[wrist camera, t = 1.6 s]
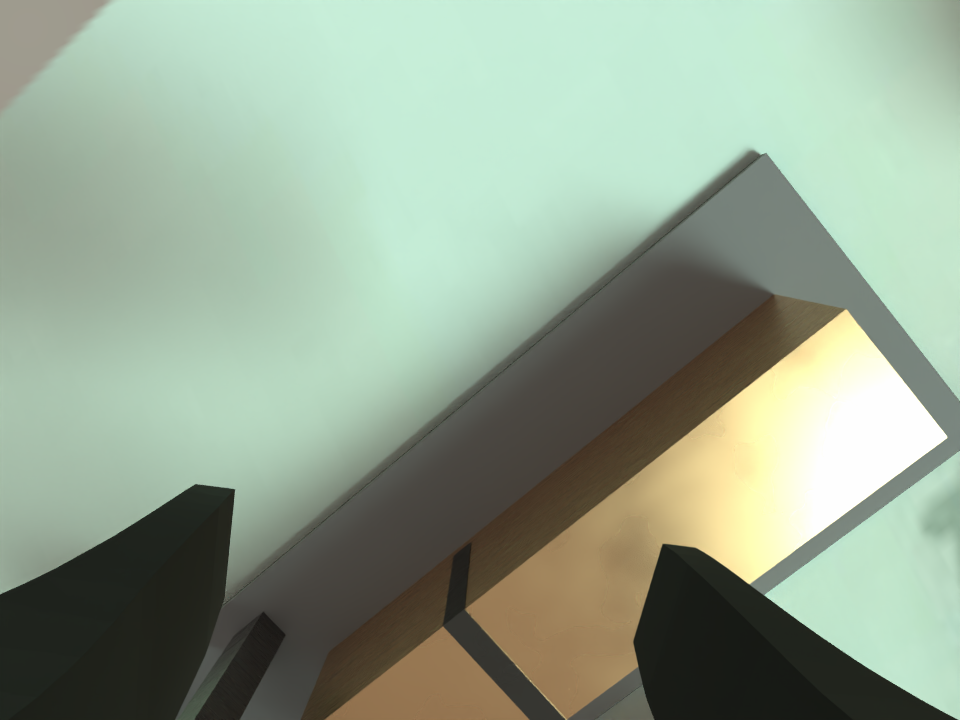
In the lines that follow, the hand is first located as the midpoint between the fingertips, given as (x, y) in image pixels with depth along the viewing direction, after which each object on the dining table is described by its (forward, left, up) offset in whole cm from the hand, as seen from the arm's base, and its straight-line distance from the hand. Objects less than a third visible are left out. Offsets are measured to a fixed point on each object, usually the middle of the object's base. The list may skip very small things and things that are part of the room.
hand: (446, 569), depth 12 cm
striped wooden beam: (0, +6, -13) cm, 14 cm away
